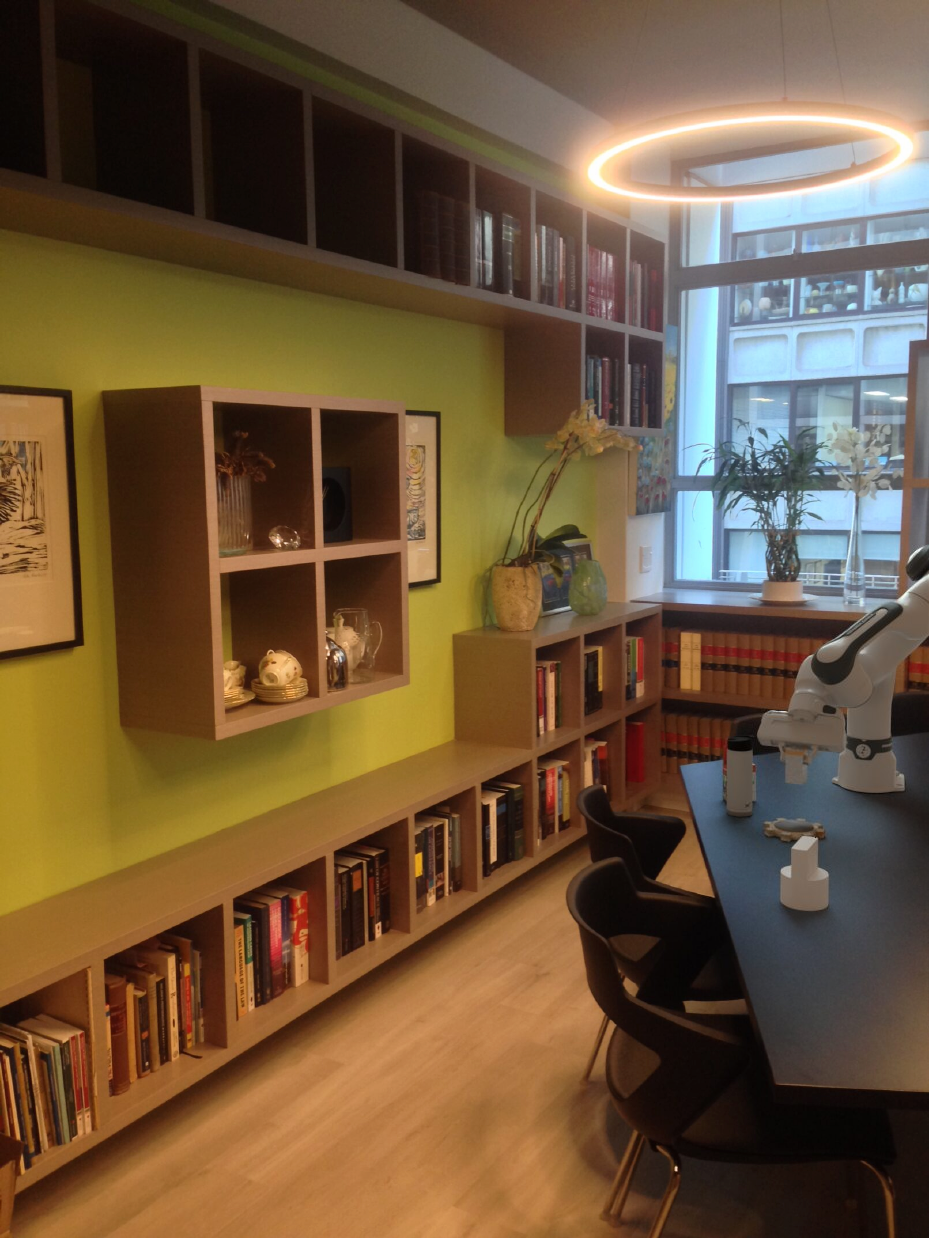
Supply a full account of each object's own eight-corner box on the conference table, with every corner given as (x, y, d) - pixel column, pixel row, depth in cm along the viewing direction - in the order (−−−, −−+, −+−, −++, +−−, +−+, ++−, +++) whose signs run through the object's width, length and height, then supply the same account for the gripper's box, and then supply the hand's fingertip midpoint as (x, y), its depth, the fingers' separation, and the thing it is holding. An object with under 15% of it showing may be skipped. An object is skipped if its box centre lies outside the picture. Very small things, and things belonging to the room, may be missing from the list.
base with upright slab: (822, 914, 202) (822, 853, 201) (774, 905, 207) (775, 846, 206) (833, 898, 210) (834, 839, 208) (787, 890, 215) (787, 833, 213)
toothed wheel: (773, 820, 260) (773, 813, 260) (831, 828, 253) (831, 821, 253) (755, 836, 249) (755, 828, 249) (815, 845, 241) (816, 837, 241)
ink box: (756, 801, 277) (756, 746, 275) (727, 803, 276) (727, 748, 274) (750, 797, 281) (751, 743, 279) (722, 799, 280) (722, 745, 278)
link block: (790, 778, 252) (790, 745, 251) (807, 780, 250) (807, 747, 249) (785, 782, 249) (785, 749, 248) (802, 784, 246) (803, 751, 245)
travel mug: (754, 817, 263) (755, 738, 261) (727, 816, 265) (727, 738, 262) (753, 810, 269) (753, 733, 267) (726, 809, 271) (726, 732, 269)
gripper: (761, 702, 258) (748, 750, 251) (848, 709, 247) (837, 759, 240) (766, 717, 263) (754, 764, 255) (852, 725, 251) (841, 774, 244)
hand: (795, 762), depth 248 cm, fingers closed on link block, 4 cm apart
